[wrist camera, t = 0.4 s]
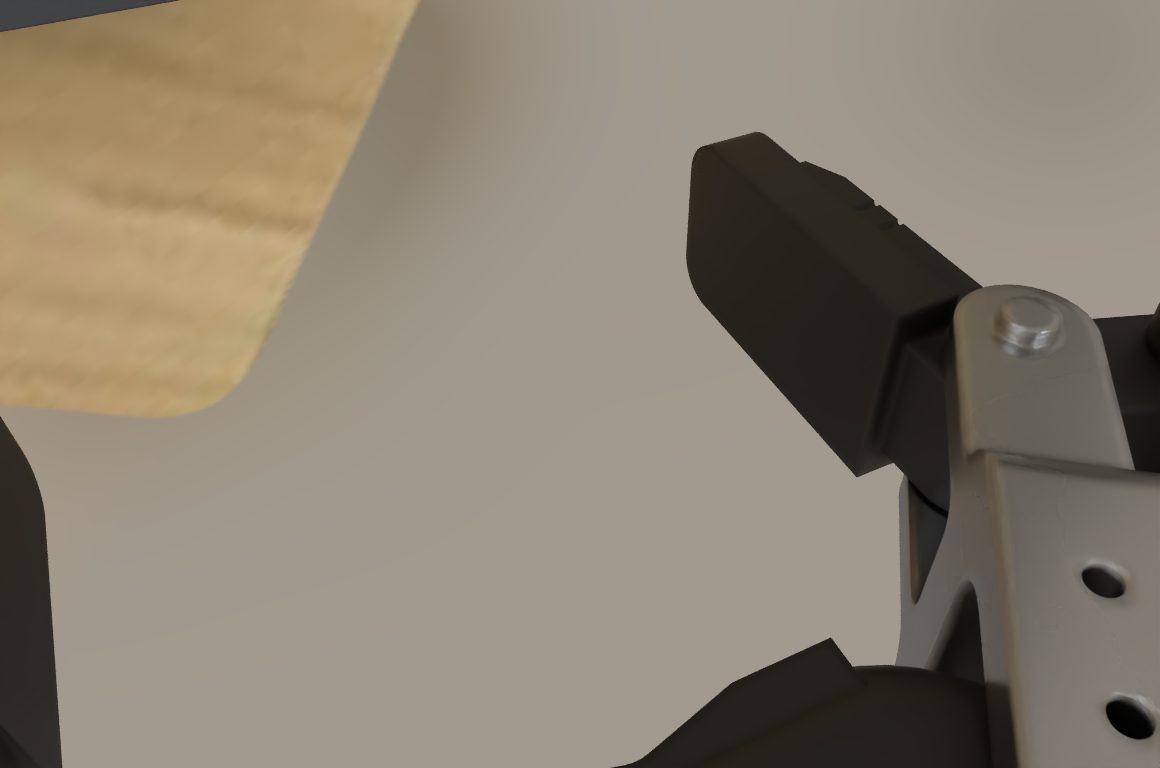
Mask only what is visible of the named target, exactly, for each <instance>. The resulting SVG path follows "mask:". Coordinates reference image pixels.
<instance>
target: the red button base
mask: <svg viewBox="0 0 1160 768" xmlns="http://www.w3.org/2000/svg"><path fill="white" fill-rule="evenodd" d="M173 1H178V0H0V32H3V31H9V30H15V29H20V28H26V27H31V26H37V25H43V24H48V23H54V22H60V21H65V20H71V19H77V18H82V17H88V16H94V15H99V14H105V13H111V12H116V11H122V10H127V9H133V8H139V7H144V6H150V5H156V4H161V3H167V2H173Z"/></svg>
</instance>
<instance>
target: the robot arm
mask: <svg viewBox="0 0 1160 768" xmlns="http://www.w3.org/2000/svg"><path fill="white" fill-rule="evenodd" d="M688 217H689V218H688V233H687V250H686V259H687V268H688V273H689V277H690V280H691V283H692V285H693V288H694V290H695V292H696V294H697V296H698V297H699V299H700V301H701V302H702V303H703V304H704V306H705V307H706V308H707V309H708V310H709V311H710V312H711V314H712V315H713V316H714V317H715V318H716V319H717V320H718V321H719V322H720V323H721V325H722V326H723V327H724V328H725V329H726V330H727V332H728V333H729V334H730V335H731V336H732V337H733V338H734V339H735V341H736V342H737V343H738V344H739V345H740V346H741V347H742V348H743V350H744V351H745V352H746V353H747V354H748V355H749V356H750V357H751V359H752V360H753V361H754V362H755V363H756V364H757V365H758V367H759V368H760V369H761V370H762V371H763V372H764V373H765V374H766V375H767V376H768V378H769V379H770V380H771V381H772V382H773V383H774V385H775V386H776V387H777V388H778V389H779V390H780V391H781V392H782V393H783V395H784V396H785V397H786V398H787V399H788V400H789V401H790V402H791V404H792V405H793V406H794V407H795V408H796V409H797V410H798V412H799V413H800V414H801V415H802V416H803V417H804V418H805V419H806V421H807V422H808V423H809V424H810V425H811V426H812V427H813V428H814V430H815V431H816V432H817V433H818V434H819V435H820V436H821V437H822V438H823V440H824V441H825V442H826V443H827V444H828V445H829V446H830V448H831V449H832V450H833V451H834V452H835V453H836V454H837V456H838V457H839V458H840V459H841V460H842V461H843V462H844V463H845V465H846V466H847V467H848V468H849V469H850V470H851V471H852V473H853V474H854V475H855V476H856V477H859V476H861V475H864V474H866V473H869V472H871V471H873V470H876V469H879V468H881V467H884V466H886V465H888V464H891V463H894V464H895V465H896V466H897V467H898V468H899V469H900V470H901V471H902V472H903V473H904V476H903V479H902V482H901V485H900V489H899V535H900V536H899V537H900V538H899V539H900V592H901V594H900V596H901V629H900V630H901V631H900V641H899V648H898V653H897V658H896V663H895V666H894V665H875V666H856V667H852V665H851V664H850V663H849V661H848V660H847V659H846V657H845V656H844V655H843V653H842V652H841V650H840V649H839V648H838V646H837V645H836V644H835V642H834V641H833V640H832V638H829V639H827V640H824V641H822V642H820V643H818V644H816V645H813V646H811V647H809V648H807V649H805V650H803V651H800V652H798V653H796V654H794V655H792V656H789V657H787V658H785V659H783V660H781V661H779V662H776V663H774V664H772V665H770V666H768V667H765V668H763V669H761V670H759V671H757V672H754V673H752V674H750V675H748V676H746V677H743V678H741V679H739V680H737V681H735V682H733V683H731V684H730V685H729V686H728V687H726V688H725V689H724V690H723V691H722V692H720V693H719V694H718V695H717V696H716V697H715V698H713V699H712V700H711V701H710V702H709V703H708V704H706V706H704V707H703V708H702V709H700V710H699V711H698V712H697V713H696V714H695V715H693V716H692V717H691V718H690V719H689V720H688V721H686V722H685V723H684V724H683V725H682V726H680V727H679V728H678V729H677V730H676V731H675V732H673V733H672V734H671V735H670V736H669V737H668V738H666V739H665V740H664V741H663V742H662V743H660V744H659V745H658V746H657V747H656V748H655V749H653V750H652V751H651V752H650V753H649V754H647V755H646V756H645V757H643V758H642V759H640V760H638V761H636V762H634V763H631V764H627V765H624V766H618V767H613V768H1160V303H1159V306H1158V307H1157V309H1156V311H1155V313H1154V314H1151V315H1138V316H1125V317H1111V318H1099V319H1091V317H1089V315H1088V314H1087V313H1086V312H1084V311H1083V310H1082V309H1080V308H1079V307H1078V306H1077V305H1075V304H1073V303H1072V302H1070V301H1068V300H1067V299H1065V298H1062V297H1060V296H1058V295H1056V294H1053V293H1051V292H1048V291H1045V290H1041V289H1037V288H1033V287H1027V286H1021V285H994V286H988V287H984V288H983V287H982V286H981V285H979V284H978V283H977V282H976V281H974V280H973V279H972V278H971V277H969V276H968V275H967V274H966V273H964V272H963V271H962V270H961V269H959V268H958V267H957V266H955V265H954V264H953V263H952V262H951V261H949V260H948V259H947V258H946V257H944V256H943V255H942V254H941V253H939V252H938V251H937V250H936V249H934V248H933V247H932V246H931V245H929V244H928V243H927V242H926V241H924V240H923V239H922V238H921V237H919V236H918V235H917V234H916V233H914V232H913V231H912V230H911V229H909V228H908V227H907V226H906V225H904V224H902V225H899V224H898V220H897V218H896V217H894V216H893V215H892V214H890V213H889V212H888V211H887V210H886V209H884V208H883V207H882V206H880V205H878V206H875V204H874V200H873V199H872V198H870V197H869V196H868V195H867V194H866V193H864V192H863V191H862V190H860V189H859V188H858V187H857V186H855V185H854V184H853V183H852V182H850V181H849V180H848V179H847V178H845V177H843V176H841V175H838V174H836V173H833V172H831V171H828V170H826V169H824V168H821V167H818V166H816V165H814V164H811V163H809V162H806V161H805V162H801V163H799V162H798V161H797V160H796V159H795V158H793V157H792V156H791V155H790V154H788V153H787V152H786V151H785V150H784V149H782V148H781V147H780V146H779V145H778V144H776V143H775V142H774V141H773V140H772V139H770V138H769V137H768V136H766V135H765V134H763V133H760V132H754V133H750V134H746V135H743V136H739V137H736V138H732V139H728V140H724V141H721V142H717V143H713V144H710V145H706V146H702V147H700V148H699V149H698V150H697V151H696V153H695V155H694V157H693V161H692V168H691V183H690V200H689V216H688ZM50 598H51V597H50V582H49V568H48V553H47V539H46V525H45V512H44V506H43V501H42V497H41V493H40V490H39V486H38V484H37V481H36V478H35V476H34V473H33V471H32V468H31V466H30V464H29V462H28V460H27V458H26V457H25V455H24V453H23V451H22V450H21V448H20V447H19V445H18V444H17V442H16V440H15V439H14V437H13V436H12V434H11V433H10V431H9V429H8V428H7V426H6V425H5V423H4V421H3V420H2V418H1V417H0V768H62V758H61V742H60V728H59V714H58V699H57V684H56V669H55V655H54V640H53V626H52V612H51V599H50Z"/></svg>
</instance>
